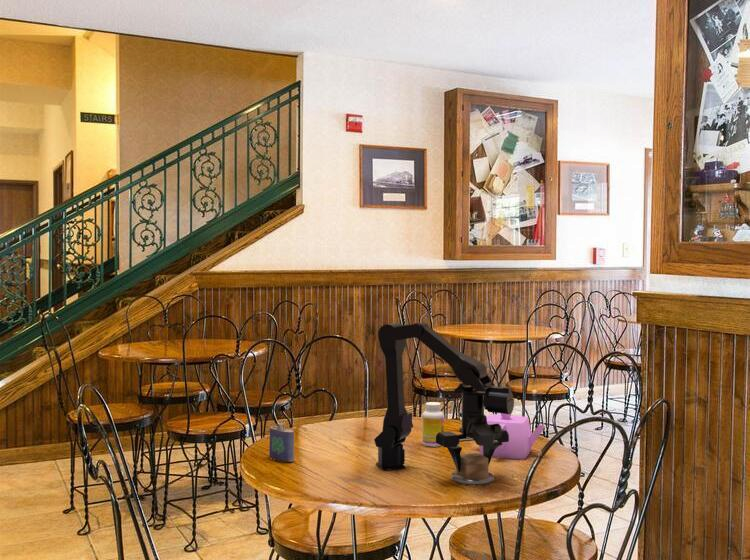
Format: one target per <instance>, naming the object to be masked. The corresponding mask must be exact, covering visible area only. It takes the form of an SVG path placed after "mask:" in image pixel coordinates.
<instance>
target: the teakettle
mask: <svg viewBox="0 0 750 560" xmlns="http://www.w3.org/2000/svg"><path fill="white" fill-rule="evenodd" d="M486 418H487V423H488V425H490V424H499V425H500V426H501V428H502V429H504V430H506V431H507V432H508V434H509V442H501V443H503V444H502V445H501V446H498V447H497V448H496V449H495V451H494V453H493V455H492V458H496V457H499V458H498V459H505V458H509V459H508V460H519V459H523V460H526V459H527V457H528V456H529V455H530V453H531V449H532V447H533V445H534V444H535V443H536V442H537V440H538V438H539V437H540V436H541V434H542V432H543V431H544V430H545V428H546V425H545V424H542V423H539V424H538V426H537V427H536V428H535V430H534V431H533V432H532V431H531V424H530V419H529V417H528V416H522V415H512V413H511V414H502V413H491V414H489V415H486ZM478 446H479V445H478ZM478 448H479V452H480V453H479V454H481V455H483V446H479V447H478Z"/></svg>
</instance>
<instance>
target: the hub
mask: <svg viewBox="0 0 750 560" xmlns="http://www.w3.org/2000/svg"><path fill="white" fill-rule="evenodd" d="M450 477H451V481H452V482H453V481H454V483H455V482H456V483H455V484H458V483H459V485H462V484H465V485H464V486H468V485H475V486H474V487H479V486H478V485H483V486H487V484H488V485H491V484H493V483H492V482H493V481H494V482H495V476H494V474H493V473H491V472H489V471H488V478H481V479H472V480H467V479H465V478H463V477H462V476H460V475H459V474H457V470H456V471H453V472H452V473H451V475H450ZM490 483H491V484H490Z"/></svg>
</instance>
